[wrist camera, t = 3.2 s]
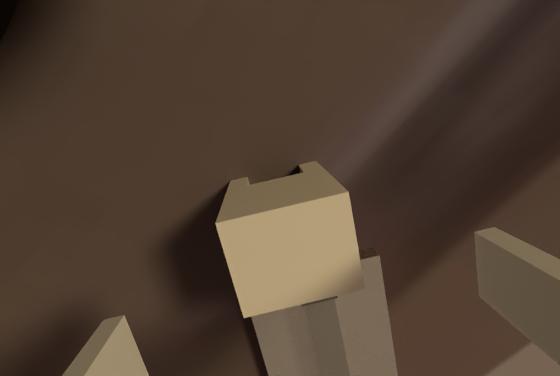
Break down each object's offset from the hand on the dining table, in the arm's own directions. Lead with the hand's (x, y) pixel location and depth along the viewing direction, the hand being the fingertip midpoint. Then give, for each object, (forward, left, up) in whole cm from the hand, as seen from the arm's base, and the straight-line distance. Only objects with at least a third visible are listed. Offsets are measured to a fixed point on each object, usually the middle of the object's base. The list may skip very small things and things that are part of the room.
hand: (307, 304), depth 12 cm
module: (0, 0, -11) cm, 11 cm away
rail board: (+1, -12, -11) cm, 16 cm away
